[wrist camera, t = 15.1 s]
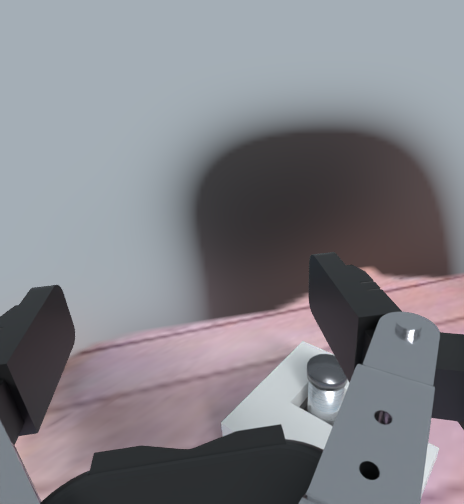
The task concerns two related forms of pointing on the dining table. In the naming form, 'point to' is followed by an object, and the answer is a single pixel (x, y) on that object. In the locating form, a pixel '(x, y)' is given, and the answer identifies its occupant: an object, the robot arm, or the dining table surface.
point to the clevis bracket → (292, 406)
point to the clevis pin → (325, 387)
